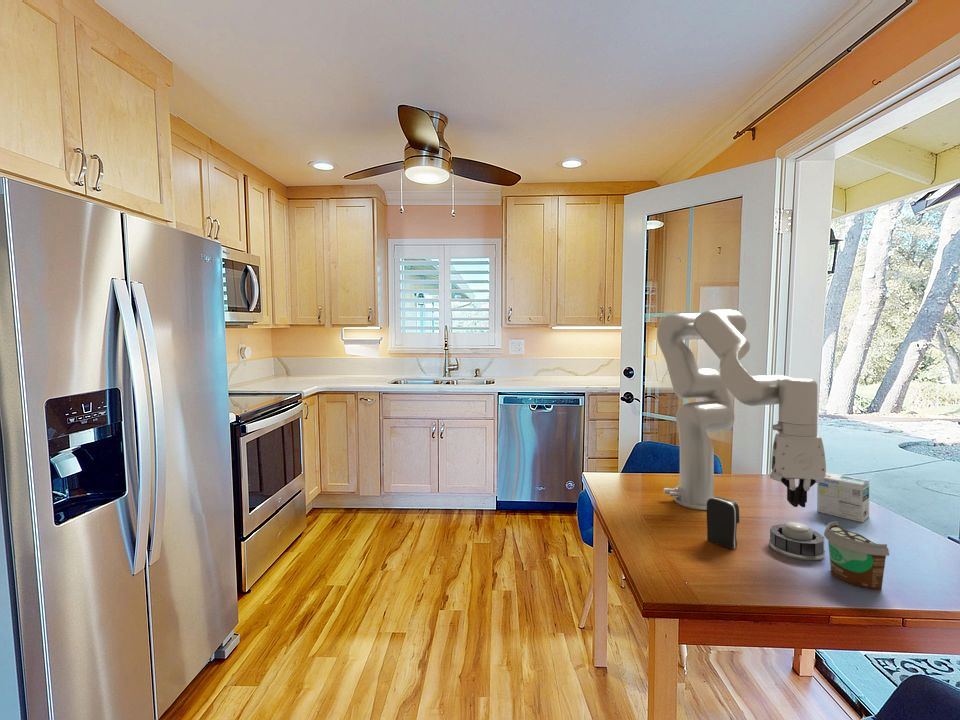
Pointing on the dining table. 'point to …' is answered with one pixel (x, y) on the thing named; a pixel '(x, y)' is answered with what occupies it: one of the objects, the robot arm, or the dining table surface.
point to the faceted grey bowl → (797, 545)
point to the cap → (797, 531)
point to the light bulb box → (843, 497)
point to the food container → (855, 558)
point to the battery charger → (722, 521)
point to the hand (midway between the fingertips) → (796, 504)
